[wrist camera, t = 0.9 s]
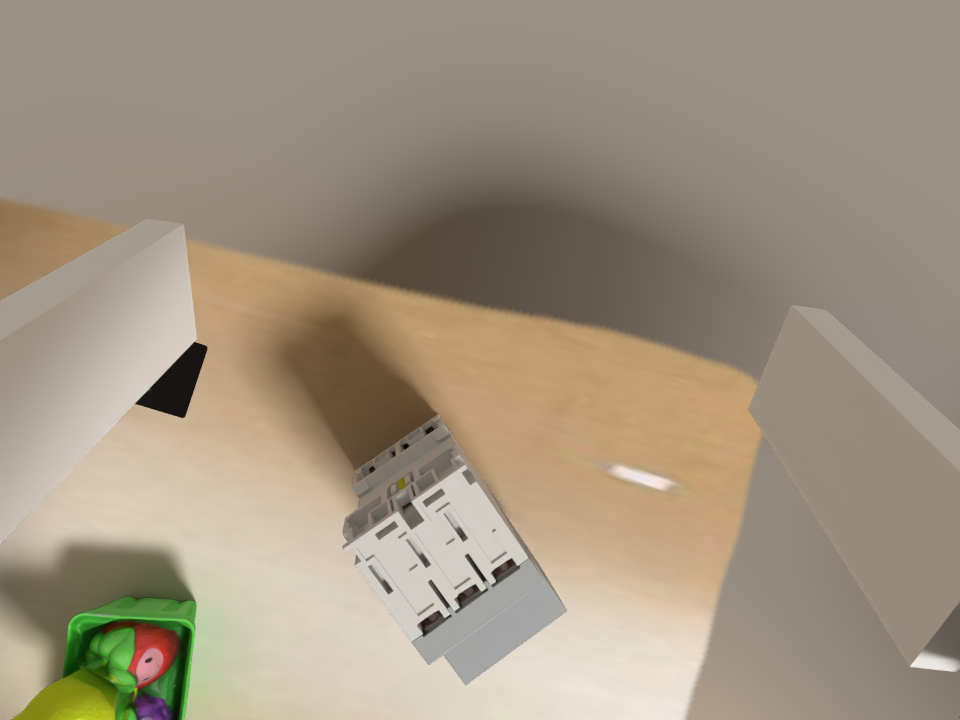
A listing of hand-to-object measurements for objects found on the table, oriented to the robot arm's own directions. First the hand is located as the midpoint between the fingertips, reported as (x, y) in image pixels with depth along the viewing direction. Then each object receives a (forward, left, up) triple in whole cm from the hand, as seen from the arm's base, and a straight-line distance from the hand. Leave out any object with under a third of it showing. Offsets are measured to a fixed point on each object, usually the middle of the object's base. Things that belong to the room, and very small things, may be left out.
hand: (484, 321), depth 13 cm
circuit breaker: (-15, -4, -33) cm, 36 cm away
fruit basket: (-27, +17, -33) cm, 46 cm away
